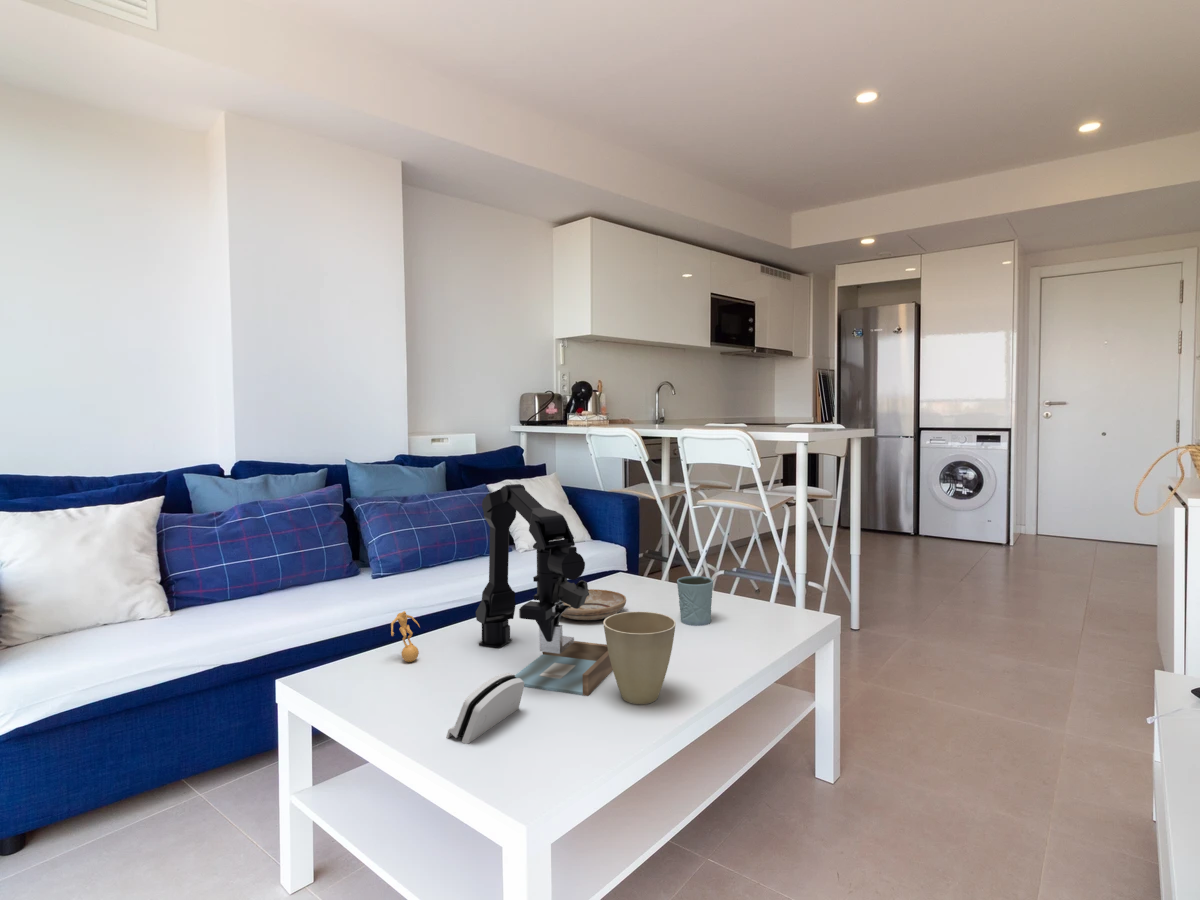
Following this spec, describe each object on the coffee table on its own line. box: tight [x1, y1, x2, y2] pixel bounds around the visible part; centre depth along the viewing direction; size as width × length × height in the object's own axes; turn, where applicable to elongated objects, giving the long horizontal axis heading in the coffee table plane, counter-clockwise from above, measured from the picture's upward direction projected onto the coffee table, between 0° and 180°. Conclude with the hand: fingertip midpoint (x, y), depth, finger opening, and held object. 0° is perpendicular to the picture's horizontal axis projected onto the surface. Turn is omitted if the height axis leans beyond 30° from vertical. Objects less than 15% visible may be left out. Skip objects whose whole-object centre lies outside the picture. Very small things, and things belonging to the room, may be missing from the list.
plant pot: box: [602, 611, 677, 705], centre depth 137 cm, size 15×15×16 cm
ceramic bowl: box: [561, 588, 627, 621], centre depth 198 cm, size 23×24×5 cm
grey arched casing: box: [446, 672, 524, 745], centre depth 126 cm, size 17×5×10 cm, turn 153°
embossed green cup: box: [676, 575, 714, 627], centre depth 189 cm, size 10×10×12 cm
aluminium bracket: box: [538, 624, 575, 654], centre depth 151 cm, size 8×5×6 cm, turn 159°
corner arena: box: [514, 640, 613, 697], centre depth 151 cm, size 19×19×4 cm
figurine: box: [390, 610, 421, 663], centre depth 160 cm, size 8×6×12 cm
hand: (550, 640), depth 148 cm, fingers closed on aluminium bracket
